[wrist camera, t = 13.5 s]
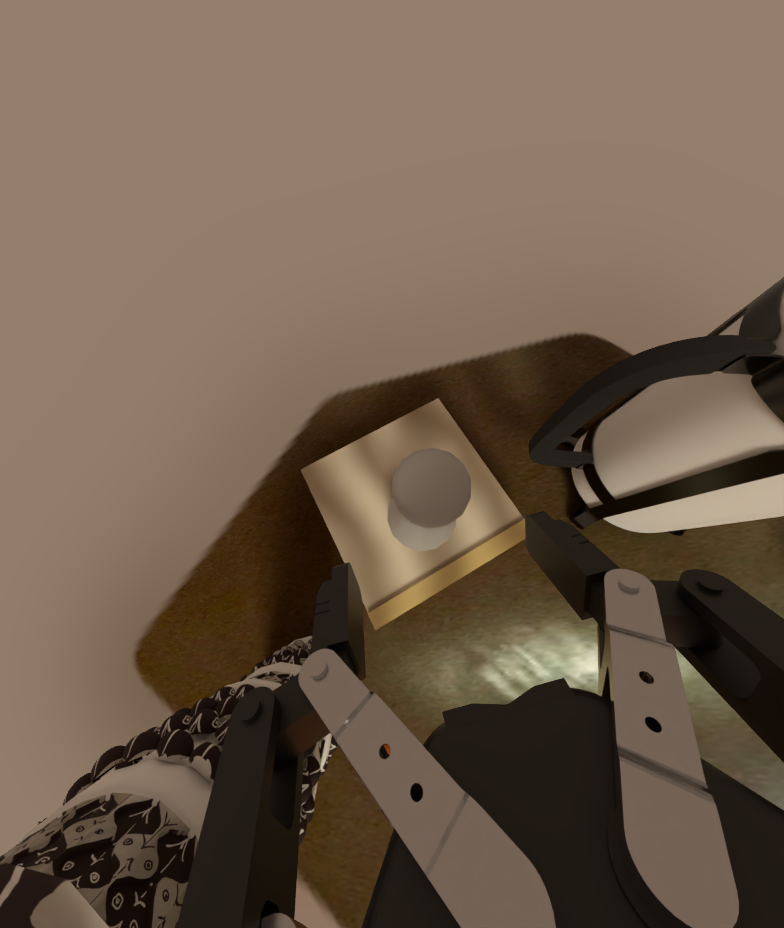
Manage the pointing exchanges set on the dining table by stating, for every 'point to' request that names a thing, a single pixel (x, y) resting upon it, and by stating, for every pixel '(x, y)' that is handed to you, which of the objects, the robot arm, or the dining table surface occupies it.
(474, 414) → the dining table surface
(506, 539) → the wood block
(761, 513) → the coffee press
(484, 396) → the dining table surface
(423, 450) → the salt shaker
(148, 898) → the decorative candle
